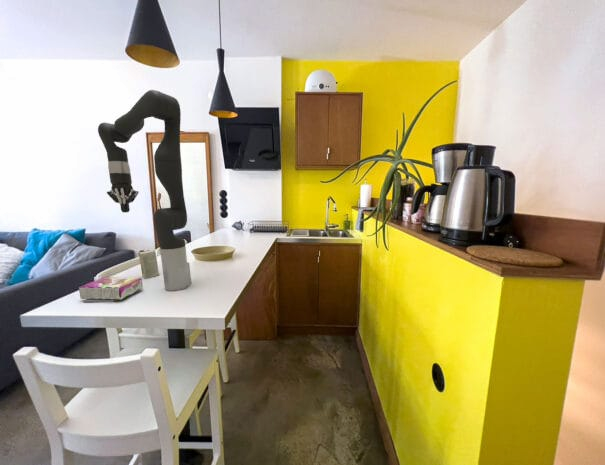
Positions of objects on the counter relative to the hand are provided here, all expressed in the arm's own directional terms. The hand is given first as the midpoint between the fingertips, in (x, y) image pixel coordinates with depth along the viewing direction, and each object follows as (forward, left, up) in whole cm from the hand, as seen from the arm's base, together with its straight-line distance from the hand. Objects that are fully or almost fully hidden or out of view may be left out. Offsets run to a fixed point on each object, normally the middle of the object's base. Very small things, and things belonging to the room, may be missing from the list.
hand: (125, 212), depth 107 cm
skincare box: (-6, -2, -31) cm, 32 cm away
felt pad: (-4, +19, -31) cm, 36 cm away
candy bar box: (+3, +19, -28) cm, 34 cm away
